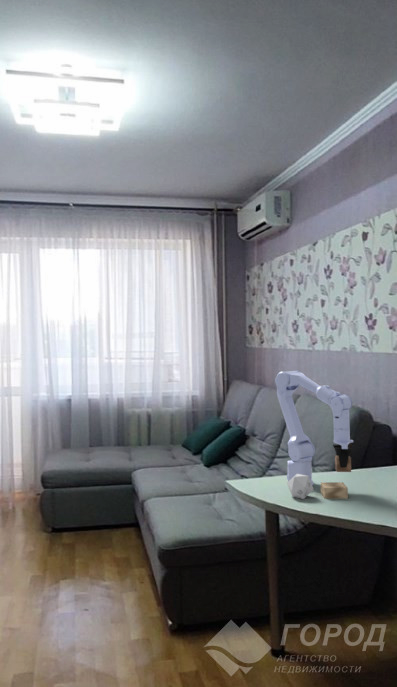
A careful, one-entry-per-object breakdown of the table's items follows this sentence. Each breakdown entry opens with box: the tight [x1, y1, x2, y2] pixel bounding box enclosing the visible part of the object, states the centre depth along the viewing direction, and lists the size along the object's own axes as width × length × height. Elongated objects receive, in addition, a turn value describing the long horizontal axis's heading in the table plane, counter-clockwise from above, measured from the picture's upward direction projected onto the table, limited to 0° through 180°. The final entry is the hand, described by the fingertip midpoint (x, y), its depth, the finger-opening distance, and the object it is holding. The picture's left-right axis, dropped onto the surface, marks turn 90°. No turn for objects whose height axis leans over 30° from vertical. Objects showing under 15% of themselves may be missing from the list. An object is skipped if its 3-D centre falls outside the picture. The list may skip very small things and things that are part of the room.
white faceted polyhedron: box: [286, 474, 314, 500], centre depth 201 cm, size 8×9×10 cm
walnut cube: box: [334, 454, 352, 473], centre depth 208 cm, size 5×5×5 cm
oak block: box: [320, 481, 349, 500], centre depth 202 cm, size 8×8×4 cm
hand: (342, 465), depth 208 cm, fingers closed on walnut cube, 5 cm apart
